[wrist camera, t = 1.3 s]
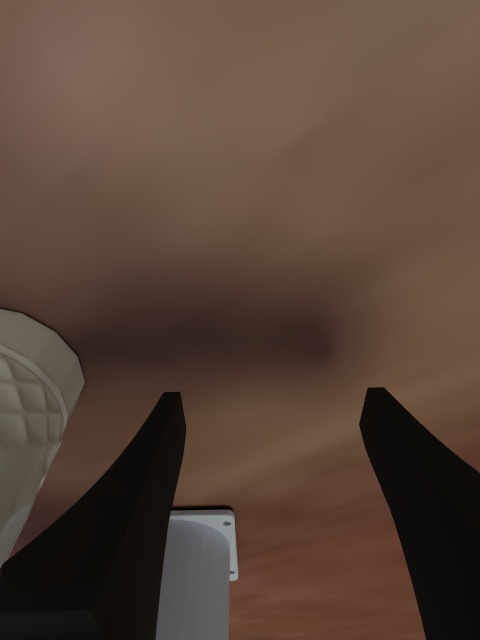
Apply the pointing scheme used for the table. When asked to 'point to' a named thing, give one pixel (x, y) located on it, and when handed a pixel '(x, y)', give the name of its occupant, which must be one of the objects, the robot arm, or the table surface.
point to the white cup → (30, 414)
